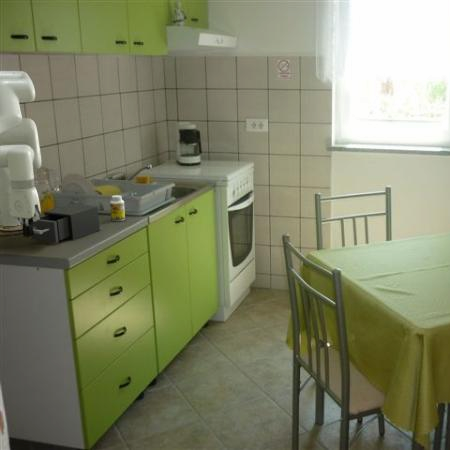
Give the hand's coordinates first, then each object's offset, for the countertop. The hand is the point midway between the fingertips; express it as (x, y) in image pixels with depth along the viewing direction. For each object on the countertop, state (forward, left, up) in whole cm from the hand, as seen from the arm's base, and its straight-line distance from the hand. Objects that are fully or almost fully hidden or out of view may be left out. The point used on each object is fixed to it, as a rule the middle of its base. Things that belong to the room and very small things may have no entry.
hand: (28, 235), depth 204 cm
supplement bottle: (+3, +45, -5) cm, 45 cm away
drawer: (0, +11, -4) cm, 12 cm away
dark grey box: (0, +22, -5) cm, 22 cm away
